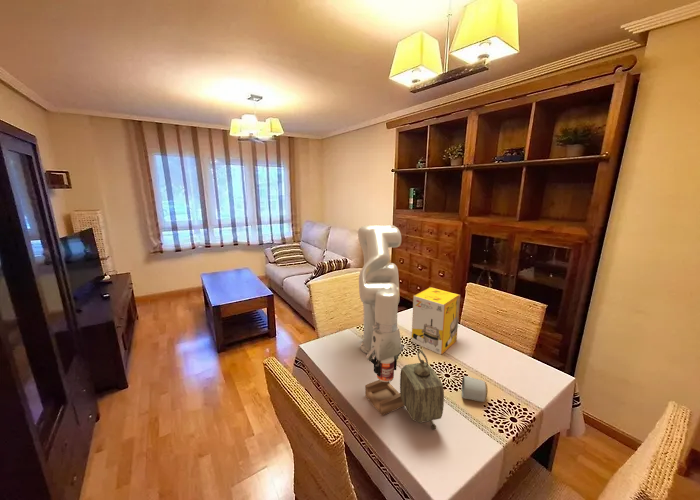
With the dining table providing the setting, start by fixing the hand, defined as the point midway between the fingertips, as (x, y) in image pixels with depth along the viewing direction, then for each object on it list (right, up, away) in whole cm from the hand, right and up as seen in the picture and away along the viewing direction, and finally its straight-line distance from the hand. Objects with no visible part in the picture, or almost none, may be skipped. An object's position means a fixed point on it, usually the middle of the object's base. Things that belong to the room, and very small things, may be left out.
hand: (385, 370), depth 101 cm
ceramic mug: (+34, -12, +5) cm, 36 cm away
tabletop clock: (+11, -14, -5) cm, 19 cm away
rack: (0, -12, +3) cm, 13 cm away
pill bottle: (0, -3, +1) cm, 3 cm away
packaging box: (+30, -3, +42) cm, 51 cm away
